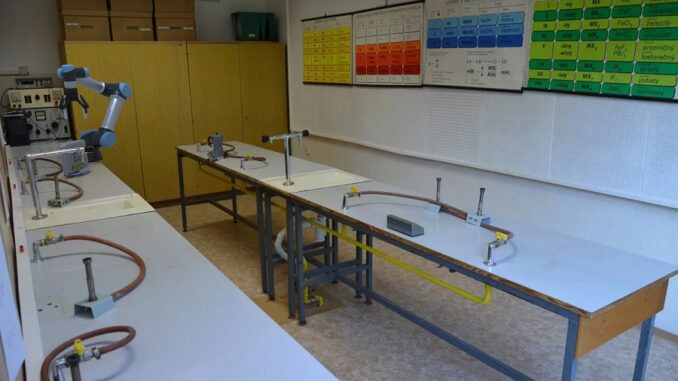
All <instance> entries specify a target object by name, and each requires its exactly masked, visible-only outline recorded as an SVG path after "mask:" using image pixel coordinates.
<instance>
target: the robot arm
mask: <svg viewBox="0 0 678 381" xmlns="http://www.w3.org/2000/svg"><path fill="white" fill-rule="evenodd" d="M56 75H57V77H58V78H59V79H61V80H63V84H64V88H65V89H64V92H65V94H62V95H61V99H60V102H59V106H58V109H60V110H61V112H62V115H63V118H64V119H65V120H67V119H68V118H69V117H68V112H67V109H66V108H67V107H68V105H69V103H70V102H76V103H78V104H79V105H80V106H81V107H82V108H83V109H82V112H83V113H82V114H83V119H87V118H88V109H89V108H90V105H89V104H88V102H87V101H86V98H84V95H83V94H79V91H78V88H77V87H78V85H81V86H82V87H85V88H88V89H90V90H92V91H94V92H95V93H96V94H99V95H101V96H103V97H107V98H110V99H111V100H110V102H109V105H108V108H107V110H106V113H105V116H104V119H103V122H102V124H101V126H99V127H98V129H91V130H83V131H80V133H79V134H80V136H79V137H80V139H79V140H85V144H86V145H93V147H94V150H93V152H92V153H87V157H88V163H93V162H100V161H103V160H104V156H103V154H102V152H101V150H100V148H103V149H104V148H111V147H113V146H114V145H115V144H116V141H117V136H116V132H115V126H116V124H117V121H118V118H119V116H120V112H121V110H122V107H123V104H125V103H126V102H127V99H129V98H132V96H133V94H132V93H133V91H132V87H131V86H130V85H129V84H128V83H125V82H103V81H98V80H96V79H94V78H92V77H90V70H89V68H87V67H85V66H84V67H83V66H79V67H74V65H73V64H62V65H61V67H60V68H58V69H57V71H56ZM77 84H78V85H77Z"/></svg>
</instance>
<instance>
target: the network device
mask: <svg viewBox="0 0 678 381" xmlns="http://www.w3.org/2000/svg"><path fill="white" fill-rule="evenodd" d="M85 146H86V144H85V140H81V139H78V140H74V141H73V140H72V141H70V142H67V143H62V144H60V145H59V151H60V150H62V149H68V148H74V147H85ZM60 158H61V164H62V165H61V166H62V171H63V174H64V173H66V174H65V175H78V174H80V173H82V172H81V171H80V170H81V169H82V168H85V167H87V166H89V162H88V157H87V153H85V154H84V164H83V162H82V159H81V157H80V155H79V153H78V152H74V153H63V154H61V153H60ZM69 173H77V174H69Z"/></svg>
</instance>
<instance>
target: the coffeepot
mask: <svg viewBox="0 0 678 381" xmlns="http://www.w3.org/2000/svg"><path fill="white" fill-rule="evenodd" d="M224 137H225V135H220V134H219V132H215V134H214V135H211V136H208V137H207V138H206V139H207V142H208V145H209V147H211V148H212V157H223V156H225V151H224V148H223V144H224V143H223V141H224ZM211 142H212V144H211Z"/></svg>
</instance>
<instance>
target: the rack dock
mask: <svg viewBox="0 0 678 381" xmlns="http://www.w3.org/2000/svg"><path fill="white" fill-rule="evenodd" d="M80 171H81V172H82V173H80V174H78V175H65V174H66V173H64V172H63V177H73V176H74V177H76V176H77V177H78V176H79V177H80V176H86V175H89V174H90V173H91V166H90V165H88V166H87V167H84V168H82V169H81V170H80ZM69 174H77V173H69Z"/></svg>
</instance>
